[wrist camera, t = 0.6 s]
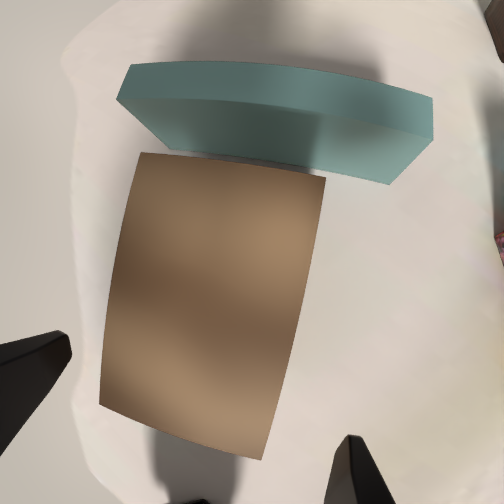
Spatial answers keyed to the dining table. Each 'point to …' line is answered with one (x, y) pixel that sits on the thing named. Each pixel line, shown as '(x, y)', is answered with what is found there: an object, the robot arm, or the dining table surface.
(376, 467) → the robot arm
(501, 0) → the pepper mill
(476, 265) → the dining table surface
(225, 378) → the walnut block
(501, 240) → the snack box
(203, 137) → the teal board
